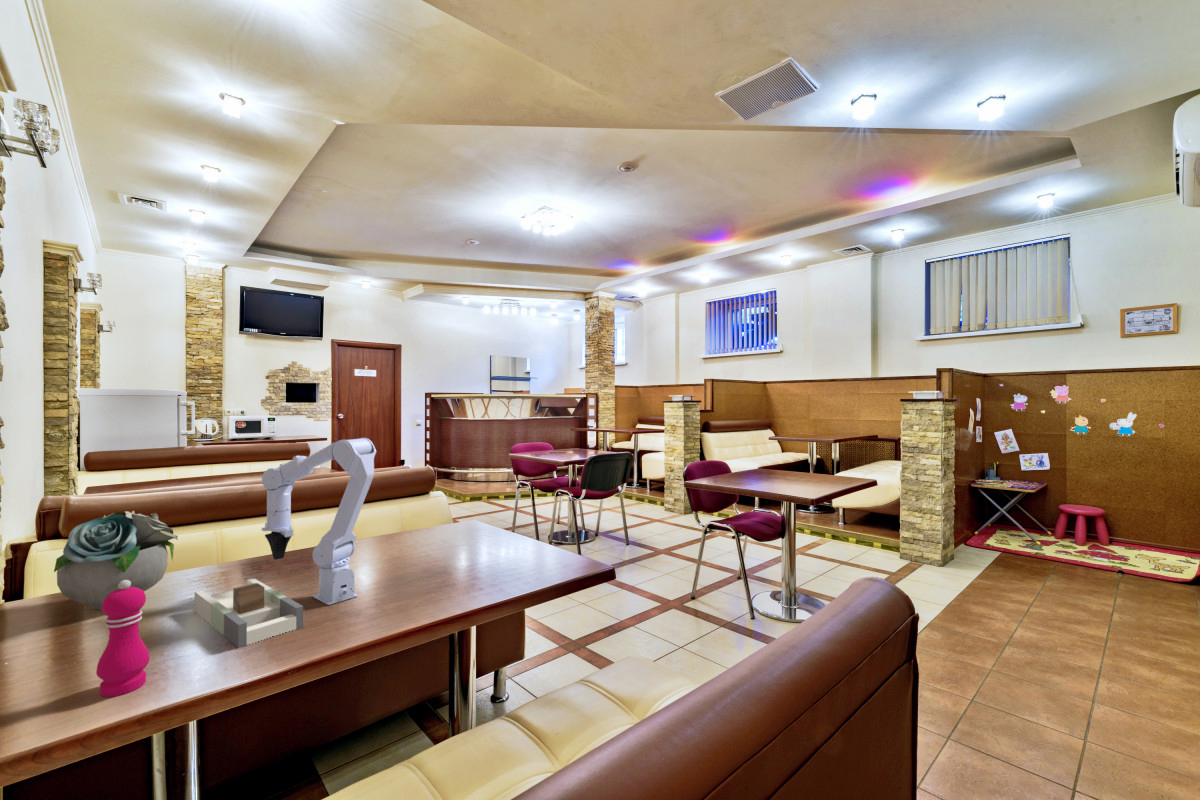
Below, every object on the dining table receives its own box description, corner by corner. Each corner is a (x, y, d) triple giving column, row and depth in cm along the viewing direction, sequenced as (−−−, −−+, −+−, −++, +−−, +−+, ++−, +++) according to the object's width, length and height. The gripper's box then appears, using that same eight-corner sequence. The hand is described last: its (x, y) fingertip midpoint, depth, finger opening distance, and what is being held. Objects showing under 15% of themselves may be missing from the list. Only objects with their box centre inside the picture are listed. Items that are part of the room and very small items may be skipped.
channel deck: (303, 627, 119) (303, 606, 119) (238, 648, 109) (238, 624, 109) (253, 595, 139) (253, 577, 139) (194, 611, 129) (194, 591, 129)
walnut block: (264, 607, 123) (264, 587, 124) (240, 614, 120) (240, 593, 120) (256, 602, 127) (256, 582, 127) (233, 609, 123) (233, 588, 123)
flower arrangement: (199, 592, 142) (200, 505, 142) (88, 630, 118) (89, 525, 118) (136, 583, 148) (137, 500, 149) (19, 618, 124) (20, 519, 125)
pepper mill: (145, 673, 99) (146, 571, 99) (153, 686, 94) (154, 579, 95) (93, 689, 93) (94, 580, 94) (98, 703, 89) (100, 590, 89)
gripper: (253, 509, 144) (252, 557, 143) (273, 516, 135) (272, 567, 135) (280, 505, 149) (280, 551, 149) (301, 511, 140) (301, 560, 140)
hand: (278, 558), depth 142 cm, fingers closed
